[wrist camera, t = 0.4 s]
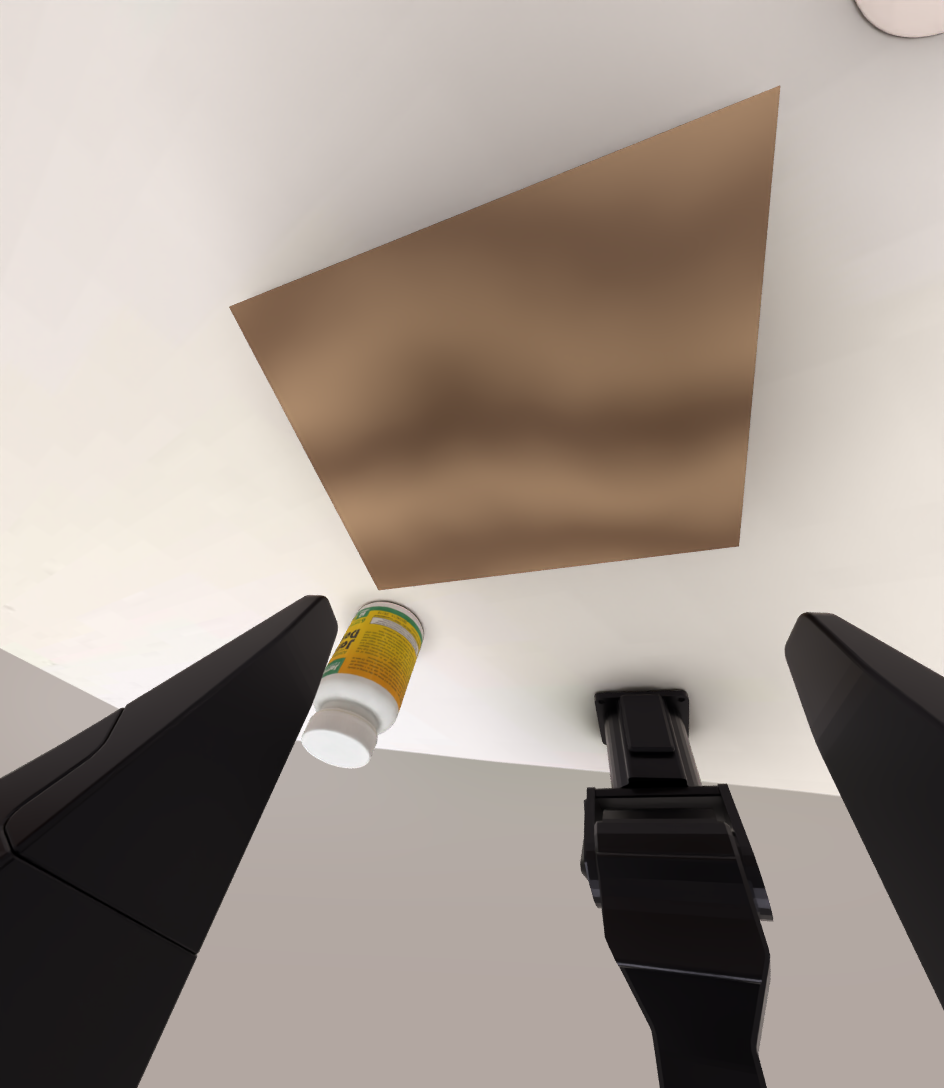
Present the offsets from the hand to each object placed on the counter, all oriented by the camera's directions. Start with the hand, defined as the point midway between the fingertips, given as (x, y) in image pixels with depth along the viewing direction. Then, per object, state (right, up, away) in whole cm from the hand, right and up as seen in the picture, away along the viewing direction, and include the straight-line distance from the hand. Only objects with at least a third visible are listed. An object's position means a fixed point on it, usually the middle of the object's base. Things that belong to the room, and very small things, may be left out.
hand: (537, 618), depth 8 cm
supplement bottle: (-7, -5, +22) cm, 24 cm away
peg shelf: (0, +8, +12) cm, 14 cm away
